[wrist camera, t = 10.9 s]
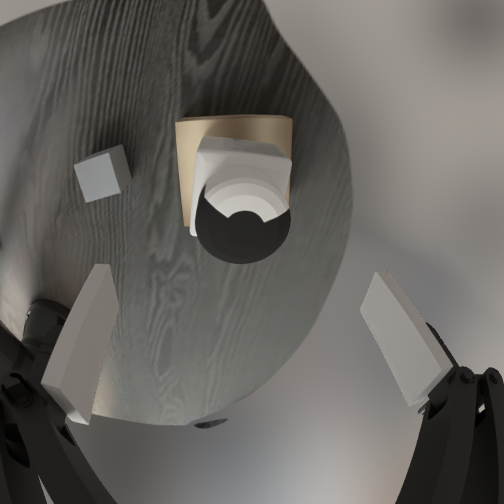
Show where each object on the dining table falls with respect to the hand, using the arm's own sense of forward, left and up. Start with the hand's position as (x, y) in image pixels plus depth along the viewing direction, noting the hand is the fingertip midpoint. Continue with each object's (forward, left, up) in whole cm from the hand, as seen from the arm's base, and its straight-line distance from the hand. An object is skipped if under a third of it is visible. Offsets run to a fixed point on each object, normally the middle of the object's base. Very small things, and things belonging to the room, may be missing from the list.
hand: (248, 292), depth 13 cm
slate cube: (-16, -1, -25) cm, 29 cm away
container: (0, 0, -19) cm, 19 cm away
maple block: (0, 0, -25) cm, 25 cm away
